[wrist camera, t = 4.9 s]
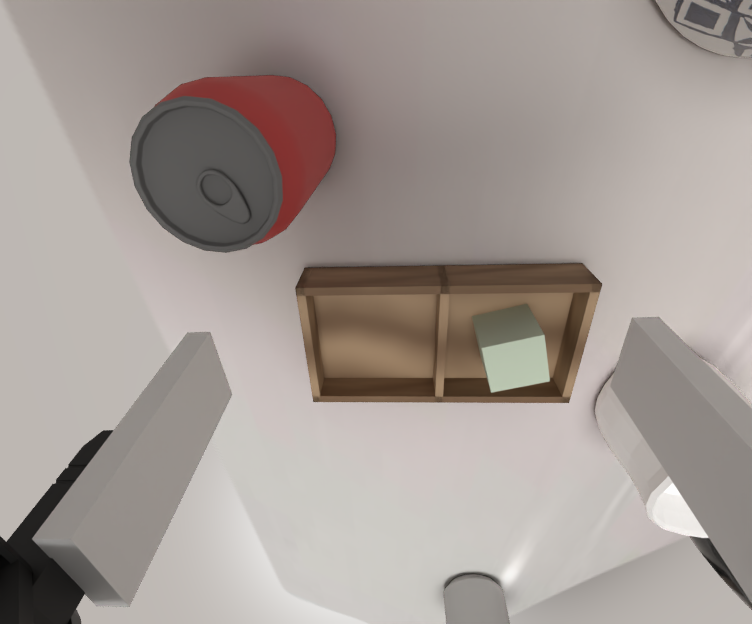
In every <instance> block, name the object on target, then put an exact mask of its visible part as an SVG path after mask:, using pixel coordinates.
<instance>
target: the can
mask: <svg viewBox="0 0 752 624" xmlns="http://www.w3.org/2000/svg"><path fill="white" fill-rule="evenodd" d="M444 604H445V615H446V624H510V622H509V617H508V612H507V607H506V602H505V597H504V592H503V589H502V588H501V587H500V586H499V585H498V584H496V583H495V582H494V581H493V580H492V579H490V578H489V577H486V576H483V575H476V574H470V575H463V576H459V577H457V578H455V579H453V580H452V581H451V582H450V584H449V585H448V586H447V587H446V588H445V591H444Z"/></svg>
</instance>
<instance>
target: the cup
mask: <svg viewBox="0 0 752 624" xmlns="http://www.w3.org/2000/svg"><path fill="white" fill-rule="evenodd" d="M701 359H702V358H701ZM702 360H703V359H702ZM703 361H704V362H705V363H706V364H707V365H708V366H709V367H710V368H711V369H712V370H713V371H714V372H715V373H716V374H717V375H718V376H719V377H720V378H721V379H722V380H723V381H724V382H725V383H726V384H727V385H728V386H729V387H730V388H731V389H732V390H733V391H734V392H735V393H736V394H737V395H738V396H739V397H740V398H741V399H742V400H743V401H744V402H745V403H747V404H748V405H749V406H750V407H751V408H752V404H751V403H750V401H749V400H748V399H747V398H746V397H745V396H744V395H743V394H742V392H741V391H740V390H739V389H738V388H737V387H736V386H735V385H734V384H733V383H732V382H731V381H730V380H729V379H728V378H727V377H726V376H725V375H724V374H722V373H721V372H720V371H719V370H718V369H717V368H716V367H715V366H713V365H711V364H710V363H708V362H706V361H705V360H703ZM613 375H614V373H613V374H612V376H611V377H610V378H609V379H608V381H607V382H606V383H605V385H604V387H603V388H602V390H601V392H600V394H599V396H598V398H597V402H596V407H595V415H596V420H597V423H598V426H599V430H600V432H601V433H602V435H603V437H604V439H605V441H606V442H607V444H608V446H609V448H610V449H611V451H612V453H613V454H614V455H615V457H616V458H617V460H618V461H619V462H620V464H621V465H622V466H623V468H624V469H625V470H626V472H627V473H628V474H629V476H630V477H631V479H632V481H633V483H634V484H635V486H636V488H637V490H638V492H639V494H640V496H641V499H642V501H643V503H644V506H645V508H646V511H647V515H648V518H649V519H650V520H651V521H653V522H654V523H655V524H656V525H657V526H659V527H661V528H662V529H664V530H668V531H671V532H675V533H679V534H682V535H687V536H694V537H700V538H709V537H708V536H707V534H706V533H705V531H704V529H703V528H702V526H701V525H700V523H699V522H698V520H697V519H696V517H695V516H694V514H693V513H692V511H691V510H690V508H689V507H688V505H687V503H686V502H685V500H684V499H683V497H682V496H681V494H680V493H679V491H678V490H677V488H676V487H675V485H674V484H673V482H672V480H671V479H670V477H669V476H668V474H667V473H666V471H665V470H664V468H663V467H662V465H661V464H660V462H659V461H658V459H657V457H656V456H655V454H654V453H653V451H652V450H651V448H650V447H649V445H648V444H647V442H646V441H645V439H644V438H643V436H642V434H641V433H640V431H639V430H638V428H637V427H636V425H635V424H634V422H633V421H632V419H631V418H630V416H629V415H628V413H627V411H626V410H625V408H624V407H623V405H622V404H621V402H620V401H619V399H618V398H617V396H616V395H615V393H614V392H613V390H612V388H611V387H610V385H611V381H612V378H613Z"/></svg>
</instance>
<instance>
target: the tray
mask: <svg viewBox="0 0 752 624" xmlns="http://www.w3.org/2000/svg"><path fill="white" fill-rule="evenodd" d="M601 287H602V283H601V282H600V281H599V280H598V279H597V278H596V277H595V276H594V275H593V274H592V273H591V272H590V271H589V270H588V269H587V268H586V267H585V265H584V264H583V263H571V264H509V265H447V266H386V267H324V268H304V271H303V273H302V275H301V277H300V279H299V281H298V283H297V286H296V288H295V289H296V295H297V302H298V308H299V314H300V320H301V327H302V333H303V339H304V346H305V352H306V358H307V364H308V371H309V377H310V383H311V390H312V396H313V402H480V403H569V401H570V397H571V394H572V390H573V386H574V383H575V379H576V376H577V372H578V369H579V365H580V362H581V358H582V354H583V351H584V347H585V344H586V340H587V337H588V333H589V329H590V326H591V322H592V319H593V315H594V312H595V308H596V304H597V301H598V297H599V294H600V290H601ZM523 304H528V306H529V308H530V310H531V311H532V313H533V315H534V317H535V319H536V320H537V322H538V324H539V326H540V328H541V329H542V331H543V333H544V335H545V343H546V352H547V360H548V369H549V377H550V381H549V382H544V383H539V384H534V385H528V386H523V387H518V388H513V389H508V390H502V391H497V392H492V393H491V391H490V387H489V384H488V380H487V377H486V373H485V370H484V367H483V363H482V360H481V356H480V351H479V347H478V342H477V338H476V333H475V328H474V324H473V319H472V316H475V315H480V314H484V313H488V312H493V311H497V310H501V309H506V308H510V307H514V306H519V305H523Z"/></svg>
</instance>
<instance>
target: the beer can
mask: <svg viewBox="0 0 752 624" xmlns="http://www.w3.org/2000/svg"><path fill="white" fill-rule="evenodd" d="M335 146H336V133H335V129H334V125H333V121H332V117H331V115H330V113H329V111H328V110H327V108H326V106H325V105H324V103H323V101H322V99H321V98H320V97H319V96H318V95H317V94H315V93H314V92H313V91H312V90H311V89H310V88H309V87H308V86H307V85H305V84H303V83H301V82H299V81H297V80H294V79H292V78H290V77H283V76H274V75H263V76H234V77H206V78H202V79H198V80H195V81H191V82H188V83H184V84H181V85H179V86H178V87H177V88H176V89H174V90H173V91H172V92H171V93H169V94H168V95H167V96H166V97H165V98H163V99H162V100H161V101H160V102H158V103H157V104H156V105H155V107H154V108H153V109H151V110H150V111H149V112H148V113H147V114H145V115H144V116H143V117H142V118H141V120H140V122H139V124H138V126H137V128H136V130H135V132H134V134H133V136H132V141H131V151H130V161H129V162H130V166H131V171H132V176H133V180H134V185H135V188H136V190H137V191H138V193H139V195H140V197H141V199H142V201H143V203H144V205H145V207H146V209H147V210H148V211H149V212H150V213H151V214H152V216H153V217H154V218H155V219H156V220H157V221H158V222H159V224H160V225H161V226H162V227H163V228H164V229H166V230H167V231H168V232H170V233H171V234H173V235H174V236H175V237H177V238H178V239H180V240H181V241H183V242H185V243H187V244H190V245H192V246H195V247H197V248H200V249H203V250H206V251H215V252H225V253H227V252H232V251H237V250H242V249H246V248H248V247H250V246H251V245H254V244H259V243H263V242H265V241H267V240H269V239H271V238H272V237H274V236H276V235H277V234H279V233H281V232H282V231H284V230H285V229H286V228H287V227H288V226H289V225H290V223H291V222H292V221H293V220H294V218H295V217H296V216H297V215H298V213H299V212H300V211H301V209H302V208H303V206H304V205H305V203H306V202H307V200H308V199H309V198H310V196H311V195H312V193H313V192H314V190H315V189H316V188H317V186H318V185H319V183H320V182H321V180H322V179H323V177H324V176H325V175H326V173H327V172H328V170H329V169H330V166H331V163H332V160H333V158H334V155H335Z"/></svg>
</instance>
